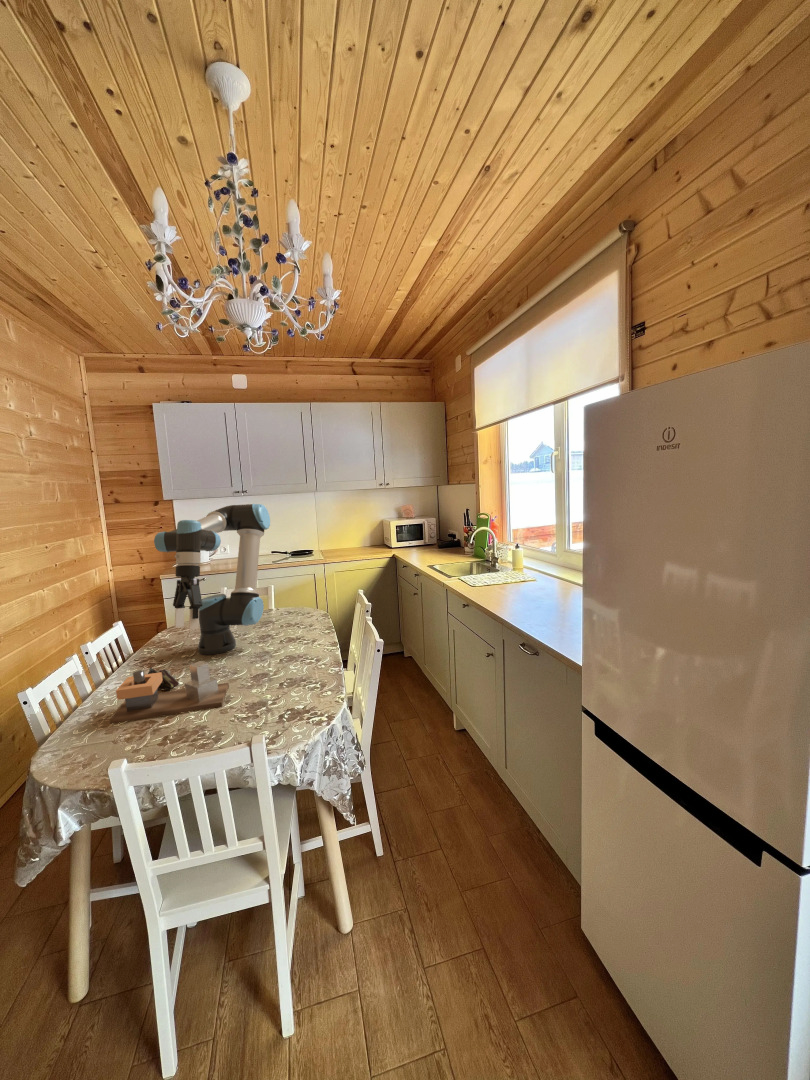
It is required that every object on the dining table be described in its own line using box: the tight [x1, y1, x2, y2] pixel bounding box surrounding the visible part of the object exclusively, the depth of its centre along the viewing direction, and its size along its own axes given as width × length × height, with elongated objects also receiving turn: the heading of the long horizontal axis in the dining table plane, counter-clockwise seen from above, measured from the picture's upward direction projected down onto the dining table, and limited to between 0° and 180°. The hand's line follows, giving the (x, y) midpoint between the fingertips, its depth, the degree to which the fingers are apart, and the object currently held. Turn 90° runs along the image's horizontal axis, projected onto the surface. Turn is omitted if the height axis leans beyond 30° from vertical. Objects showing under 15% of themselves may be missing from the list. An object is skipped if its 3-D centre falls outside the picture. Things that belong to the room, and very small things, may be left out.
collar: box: [115, 672, 163, 701], centre depth 141 cm, size 10×10×3 cm
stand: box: [124, 669, 159, 712], centre depth 141 cm, size 7×7×11 cm
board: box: [109, 682, 230, 725], centre depth 144 cm, size 14×32×2 cm, turn 103°
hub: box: [184, 660, 219, 703], centre depth 145 cm, size 7×7×11 cm
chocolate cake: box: [147, 667, 180, 692], centre depth 159 cm, size 10×7×12 cm
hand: (186, 628), depth 148 cm, fingers open, 13 cm apart
